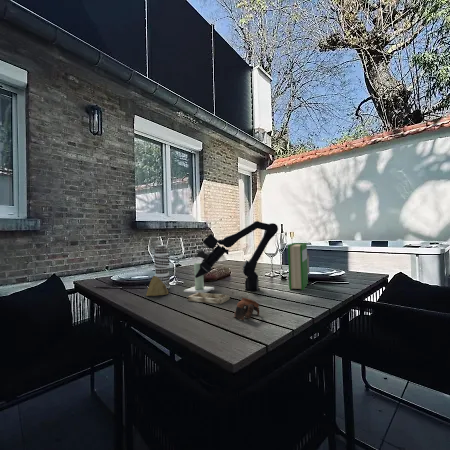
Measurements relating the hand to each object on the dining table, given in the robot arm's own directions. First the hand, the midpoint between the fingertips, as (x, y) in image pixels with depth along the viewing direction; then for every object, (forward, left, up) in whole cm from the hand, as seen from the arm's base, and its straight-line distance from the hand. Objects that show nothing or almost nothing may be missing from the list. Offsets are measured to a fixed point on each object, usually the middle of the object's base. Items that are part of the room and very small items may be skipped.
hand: (196, 275), depth 158 cm
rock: (+16, +13, -9) cm, 23 cm away
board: (-1, -1, -9) cm, 9 cm away
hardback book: (-49, -29, -9) cm, 58 cm away
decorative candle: (+25, -2, -9) cm, 26 cm away
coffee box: (-47, -54, -9) cm, 72 cm away
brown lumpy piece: (-42, +31, -9) cm, 53 cm away
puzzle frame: (-16, +15, -9) cm, 24 cm away
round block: (-1, -1, -7) cm, 7 cm away
